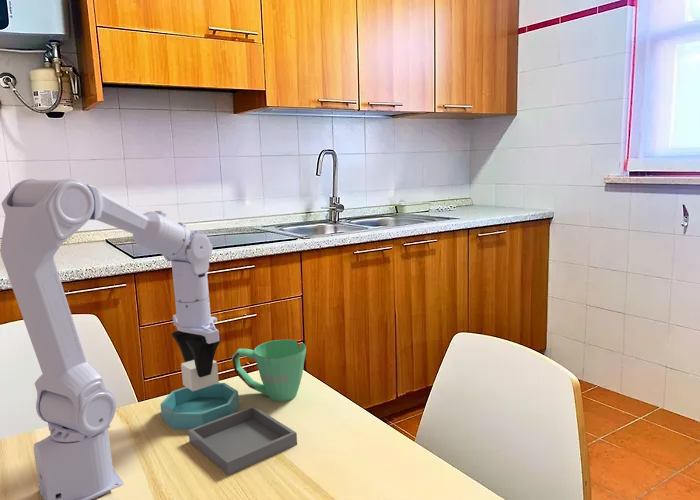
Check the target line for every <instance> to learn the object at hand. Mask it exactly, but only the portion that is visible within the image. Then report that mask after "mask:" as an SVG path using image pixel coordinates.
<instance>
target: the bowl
mask: <svg viewBox="0 0 700 500" xmlns="http://www.w3.org/2000/svg"><path fill="white" fill-rule="evenodd" d="M239 399H240V398H239V391H238V390H236V389H235V388H234V387H232V386H231V385H229V384H227V383H226V382H219V383H217V384H214V385H211V386H208V387H205V388H202V389H199V390H196V391H191V390H190V389H188V388H187V387H186V386H184V387H181V388H178V389H175V390H172V391H171V392H170V393H169V394H168V395H167V396H166V397H165V398H164V400H163V401H161V402H160V414H161V420H162V421H164V422H165V423H166V424H167V425H168V426H169V427H170V428H172V430H187V431H188V430H190V429H193V428H195V427H198V426H201V425H203V424H206V423H209V422H211V421H214V420H217V419H219V418H222V417H225V416H227V415H230V414H233V413H235V412H237V410H238V409H239V407H240V400H239Z"/></svg>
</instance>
